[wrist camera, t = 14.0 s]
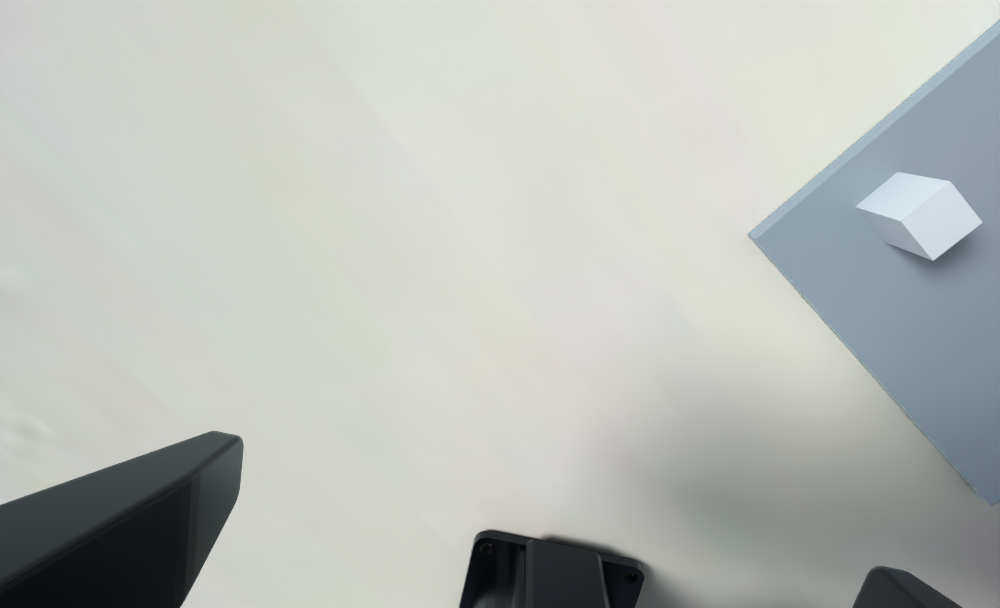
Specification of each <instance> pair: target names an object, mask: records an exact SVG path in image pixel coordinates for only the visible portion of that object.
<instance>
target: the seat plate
mask: <svg viewBox="0 0 1000 608" xmlns="http://www.w3.org/2000/svg"><path fill="white" fill-rule="evenodd" d="M748 236H749V237H750V238H751V239H752V240H753V242H754V243H755V244H756V245H757V246H758V247H759V248H760V250H761V251H762V252H763V253H764V254H765V255H766V256H767V257H768V259H769V260H770V261H771V262H772V263H773V264H774V265H775V266H776V268H777V269H778V270H779V271H780V272H781V273H782V274H783V276H784V277H785V278H786V279H787V280H788V281H789V282H790V283H791V285H792V286H793V287H794V288H795V289H796V290H797V291H798V292H799V294H800V295H801V296H802V297H803V298H804V299H805V300H806V302H807V303H808V304H809V305H810V306H811V307H812V308H813V309H814V311H815V312H816V313H817V314H818V315H819V316H820V317H821V318H822V320H823V321H824V322H825V323H826V324H827V325H828V326H829V328H830V329H831V330H832V331H833V332H834V333H835V334H836V335H837V337H838V338H839V339H840V340H841V341H842V342H843V343H844V344H845V346H846V347H847V348H848V349H849V350H850V351H851V352H852V354H853V355H854V356H855V357H856V358H857V359H858V360H859V361H860V363H861V364H862V365H863V366H864V367H865V368H866V369H867V370H868V372H869V373H870V374H871V375H872V376H873V377H874V378H875V380H876V381H877V382H878V383H879V384H880V385H881V386H882V387H883V389H884V390H885V391H886V392H887V393H888V394H889V395H890V396H891V398H892V399H893V400H894V401H895V402H896V403H897V404H898V406H899V407H900V408H901V409H902V410H903V411H904V412H905V413H906V415H907V416H908V417H909V418H910V419H911V420H912V421H913V422H914V424H915V425H916V426H917V427H918V428H919V429H920V430H921V432H922V433H923V434H924V435H925V436H926V437H927V438H928V439H929V441H930V442H931V443H932V444H933V445H934V446H935V447H936V448H937V450H938V451H939V452H940V453H941V454H942V455H943V456H944V458H945V459H946V460H947V461H948V462H949V463H950V464H951V465H952V467H953V468H954V469H955V470H956V471H957V472H958V473H959V474H960V476H961V477H962V478H963V479H964V480H965V481H966V482H967V484H968V485H969V486H970V487H971V488H972V489H973V490H974V491H975V493H976V494H978V495H979V496H980V497H981V498H982V499H983V500H985V501H986V502H987V503H988V504H989V505H990V506H992V505H994V504H995V503H997V502H998V501H1000V20H999V21H998V22H997V23H996V24H994V25H993V26H992V27H991V28H990V29H989V30H987V31H986V32H985V33H984V34H983V35H981V36H980V37H979V38H978V39H977V40H976V41H974V42H973V43H972V44H971V45H970V46H969V47H967V48H966V49H965V50H964V51H963V52H962V53H960V54H959V55H958V56H957V57H956V58H954V59H953V60H952V61H951V62H950V63H949V64H947V65H946V66H945V67H944V68H943V69H942V70H940V71H939V72H938V73H937V74H936V75H934V76H933V77H932V78H931V79H930V80H929V81H927V82H926V83H925V84H924V85H923V86H922V87H920V88H919V89H918V90H917V91H916V92H914V93H913V94H912V95H911V96H910V97H909V98H907V99H906V100H905V101H904V102H903V103H902V104H900V105H899V106H898V107H897V108H896V109H895V110H893V111H892V112H891V113H890V114H889V115H887V116H886V117H885V118H884V119H883V120H882V121H880V122H879V123H878V124H877V125H876V126H875V127H873V128H872V129H871V130H870V131H869V132H867V133H866V134H865V135H864V136H863V137H862V138H860V139H859V140H858V141H857V142H856V143H855V144H853V145H852V146H851V147H850V148H849V149H847V150H846V151H845V152H844V153H843V154H842V155H840V156H839V157H838V158H837V159H836V160H835V161H833V162H832V163H831V164H830V165H829V166H828V167H826V168H825V169H824V170H823V171H822V172H820V173H819V174H818V175H817V176H816V177H815V178H813V179H812V180H811V181H810V182H809V183H808V184H806V185H805V186H804V187H803V188H802V189H800V190H799V191H798V192H797V193H796V194H795V195H793V196H792V197H791V198H790V199H789V200H788V201H786V202H785V203H784V204H783V205H782V206H780V207H779V208H778V209H777V210H776V211H775V212H773V213H772V214H771V215H770V216H769V217H768V218H766V219H765V220H764V221H763V222H762V223H761V224H759V225H758V226H757V227H756V228H755V229H753V230H752V231H751V232H750V233H749V234H748Z"/></svg>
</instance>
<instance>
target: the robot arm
mask: <svg viewBox="0 0 1000 608" xmlns="http://www.w3.org/2000/svg"><path fill="white" fill-rule="evenodd" d="M243 448H244V445H243V440H242V438H241V437H240V436H237V435H233V434H228V433H223V432H218V431H211V432H207V433H205V434H202V435H199V436H196V437H193V438H190V439H187V440H185V441H182V442H179V443H176V444H173V445H170V446H167V447H165V448H162V449H159V450H156V451H153V452H150V453H147V454H145V455H142V456H139V457H136V458H133V459H130V460H127V461H125V462H122V463H119V464H116V465H113V466H110V467H107V468H105V469H102V470H99V471H96V472H93V473H90V474H87V475H85V476H82V477H79V478H76V479H73V480H70V481H67V482H64V483H62V484H59V485H56V486H53V487H50V488H47V489H44V490H42V491H39V492H36V493H33V494H30V495H27V496H24V497H22V498H19V499H16V500H13V501H10V502H7V503H4V504H2V505H0V608H180V607H181V605H182V604H183V602H184V601H185V599H186V597H187V595H188V593H189V591H190V590H191V588H192V586H193V584H194V582H195V580H196V578H197V576H198V574H199V573H200V571H201V569H202V567H203V565H204V563H205V561H206V559H207V557H208V555H209V553H210V551H211V549H212V548H213V546H214V544H215V542H216V540H217V538H218V536H219V534H220V532H221V530H222V528H223V526H224V524H225V523H226V521H227V519H228V517H229V515H230V513H231V511H232V509H233V507H234V505H235V503H236V500H237V497H238V494H239V490H240V481H241V470H242V459H243ZM484 543H489V544H491V545H492V546H491V547H484V546H482V544H484ZM628 572H633V573H635V574H634V575H632V576H626V575H625V574H626V573H628ZM643 581H644V574H643V570H642V567H641V565H640V564H639V563H638V562H637V561H634V560H631V559H626V558H621V557H616V556H611V555H606V554H602V553H597V552H595V551H590V550H585V549H580V548H575V547H570V546H565V545H560V544H555V543H550V542H545V541H540V540H535V539H534V540H533V539H528V538H523V537H518V536H513V535H508V534H503V533H498V532H493V531H482V532H480V533H478V534H477V535H476V537H475V539H474V543H473V547H472V551H471V556H470V560H469V565H468V569H467V573H466V578H465V582H464V586H463V591H462V595H461V600H460V604H459V608H635V605H636V602H637V599H638V596H639V593H640V590H641V587H642V584H643ZM852 608H962V607H961V606H959V605H958V604H956V603H955V602H953V601H952V600H950V599H949V598H947V597H945V596H944V595H942V594H941V593H939V592H938V591H936V590H935V589H933V588H932V587H930V586H929V585H927V584H926V583H924V582H923V581H921V580H919V579H918V578H916V577H915V576H913V575H912V574H910V573H908V572H906V571H903V570H899V569H894V568H889V567H884V566H876V567H874V568H872V569H871V570H870V571H869V573H868V574H867V577H866V579H865V581H864V583H863V585H862V588H861V590H860V592H859V594H858V596H857V598H856V601H855V603H854V605H853V607H852Z"/></svg>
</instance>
